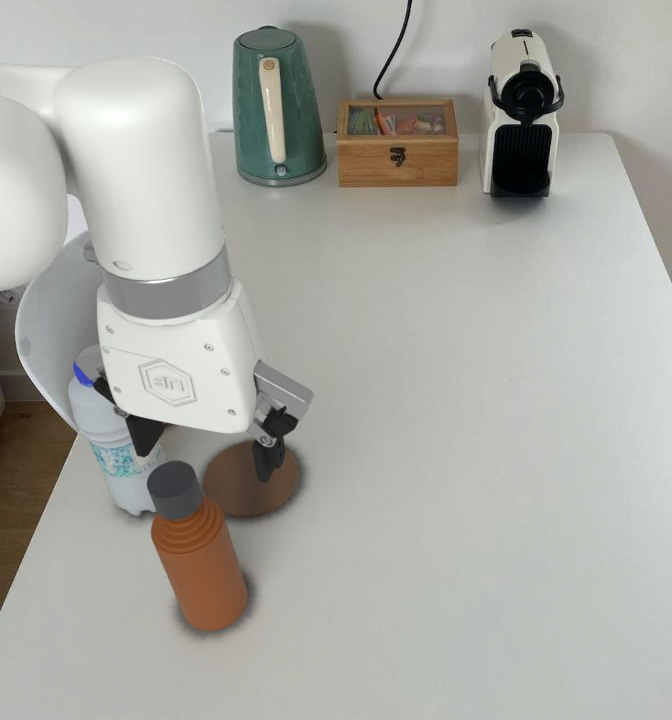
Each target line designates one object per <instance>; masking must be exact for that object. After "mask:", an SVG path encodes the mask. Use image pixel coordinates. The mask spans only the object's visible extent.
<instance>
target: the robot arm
mask: <svg viewBox="0 0 672 720" xmlns="http://www.w3.org/2000/svg"><path fill="white" fill-rule="evenodd" d="M214 167H215V166H214V162H213V154H212V149H211V142H210V137H209V130H208V125H207V118H206V113H205V107H204V103H203V98H202V93H201V90H200V87H199V86H198V83H197V82H196V79H195V78H194V77H193V76H192V74H190V72H188V71H187V69H186V68H184V67H182V66H181V65H179V64H178V63H175V62H174V61H172V60H170V59H167V58H162V57H158V56H151V55H121V56H120V55H119V56H113V57H107V58H103V59H98V60H96V61H91V62H89V63H86V64H83V65H42V64H41V65H39V64H19V63H7V62H6V63H3V62H0V292H5V291H9V290H11V289H16V288H18V287H20V286H23V285H26V284H28V283H30V282H31V281H33V280H35V279H37V278H38V277H39V276H41V275H42V274H44V273H45V271H47V270H48V269H49V268H50V267H51V266H52V265H53V264H54V262H55V261H56V259H57V258H58V256H59V254H60V253H61V251H62V249H63V246H64V244H65V241H66V238H67V234H68V227H69V202H68V201H69V200H68V195H71V196H73V197H74V198H76V199H77V200H78V202H79V203H80V206H81V209H82V213H83V216H84V219H85V224H86V226H87V230H88V234H89V237H90V240H88V241H87V242H86V243H85V244H84V248H83V257H84V259H85V261H86V262H91V263H95V264H96V265H97V266H98V267H99V270H100V274H101V276H102V281H103V282H102V283H101V284H100V285H99V287H98V288H97V290H96V325H97V335H98V341H99V343H97V344H94V345H91V346H87V347H84V348H83V350H81V352H79V354H78V355H79V356H78V355H77V356H78V357H77V356H76V357H77V358H76V357H75V359H74V361H75V363H76V365H77V366H78V367H79V368H80V369H81V371H82V372H83V373H84V374H85V375H86V376H87V377H88V379H89V380H92V381H93V382H94V383H93V387H94V389H95V390H96V391H97V392H98V393H100V394H101V395H102V396H103V397H105V398H106V399H107V400H108V401H110V402H111V403H112V404H114V405H115V406H114V407H113V411H114V413H115V414H116V415H117V416H119V417H121V418H125V421H126V424H127V427H128V430H129V433H130V436H131V439H132V442H133V445H134V448H135V451H136V454H137V456H139V457H146V456H148V455H149V454H150V452H151V450H152V449H153V447H154V446H155V444H156V443H157V441H159V440H160V438H161V437H162V435H163V434H164V432H165V424H164V425H163V422H167V423H168V424H172V425H177V426H182V427H188V428H193V429H198V430H202V431H209V432H214V433H220V434H230V435H231V434H232V435H234V434H242V433H244V432H247V433H248V434H249V435H250V436H251V437H252V438H253V439H254V440H253V441H254V443H253V446H252V451H253V457H254V462H255V468H256V474H257V479H258V480H259V481H260V482H263V483H268V481H269V479H270V477H271V475H272V473H273V471H274V469H275V468H278V469H279V468H280V467H281V465H282V463H283V461H284V458H285V448H286V446H285V438H284V436H286V435H288V434H290V433H291V432H293V431H295V430H296V428H297V426H298V425H299V423H300V422H301V420H302V419H303V418H304V416H305V415H306V413H307V412H308V410H309V409H310V406H311V404H312V402H313V400H314V398H315V392H314V391H313V390H312V389H310V388H308V387H307V386H305V385H303V384H301V383H299V382H298V381H296V380H294V379H292V378H290V377H289V376H287V375H285V374H283V373H281V372H280V371H278V370H276V369H274V368H273V367H271V366H269V365H268V362H267V356H266V352H265V351H266V350H265V347H264V343H263V339H262V335H261V332H260V328H259V326H258V325H259V323H258V321H257V318H256V315H255V312H254V310H253V307H252V303H251V302H250V299H249V296H248V294H247V292H246V289H245V288H244V286H243V283H242V281H241V280H240V279H239V278H237V277H235V276H232V271H231V264H230V258H229V252H228V246H227V241H226V233H225V227H224V223H223V215H222V210H221V209H222V208H221V204H220V197H219V191H218V185H217V180H216V174H215V173H216V172H215V168H214ZM275 400H276V401H278V402H280V403H282V404H283V405H284V406H280V405H279V404H278V403H277V402H276V401H275ZM257 410H259V411H260V412H261V413H262V414H263V415H264V416H265V418H264V419H263V421H262V419H261V420H260V419H259V417H258V416H257V415H256V412H257ZM167 423H166V424H167Z"/></svg>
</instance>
